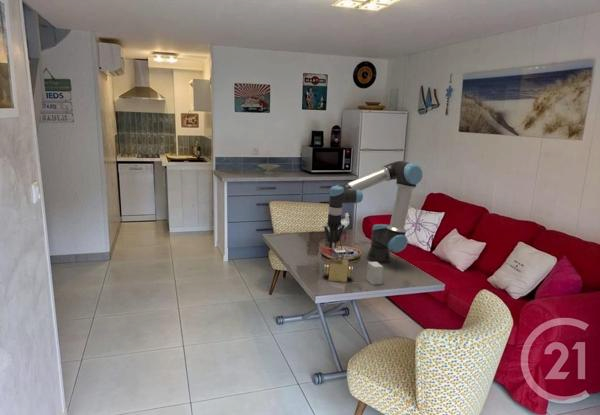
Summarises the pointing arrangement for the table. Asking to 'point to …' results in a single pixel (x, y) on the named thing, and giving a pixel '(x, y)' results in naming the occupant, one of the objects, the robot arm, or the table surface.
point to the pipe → (351, 270)
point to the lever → (332, 253)
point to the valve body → (338, 270)
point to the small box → (374, 273)
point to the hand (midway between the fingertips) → (331, 253)
